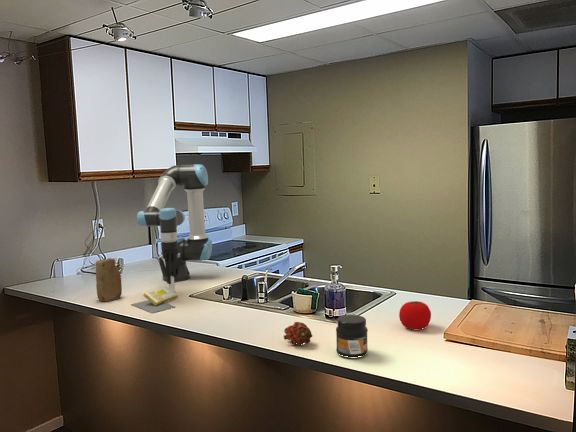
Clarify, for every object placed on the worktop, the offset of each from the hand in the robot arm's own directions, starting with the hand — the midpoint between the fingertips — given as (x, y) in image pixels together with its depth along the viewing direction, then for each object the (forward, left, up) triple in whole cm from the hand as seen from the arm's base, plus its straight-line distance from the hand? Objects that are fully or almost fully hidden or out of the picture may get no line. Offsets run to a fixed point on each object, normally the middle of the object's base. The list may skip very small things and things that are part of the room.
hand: (171, 290), depth 233 cm
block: (+18, -27, -6) cm, 33 cm away
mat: (+10, 0, -6) cm, 11 cm away
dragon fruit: (-2, +83, -6) cm, 83 cm away
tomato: (-44, +105, -6) cm, 114 cm away
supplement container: (-8, +103, -6) cm, 103 cm away
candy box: (+2, 0, -5) cm, 5 cm away
